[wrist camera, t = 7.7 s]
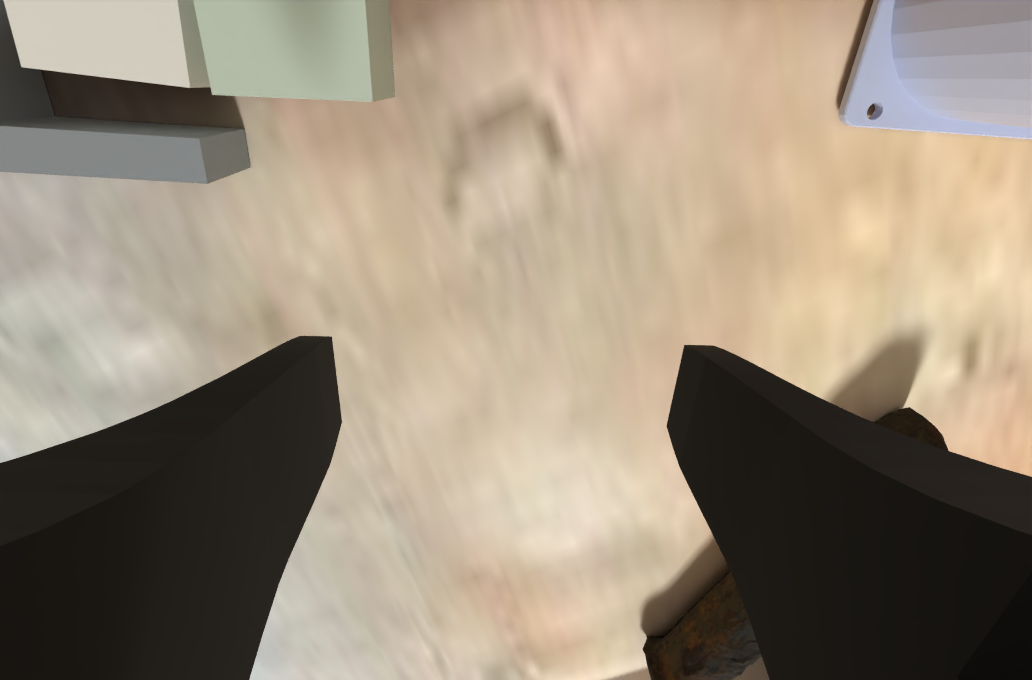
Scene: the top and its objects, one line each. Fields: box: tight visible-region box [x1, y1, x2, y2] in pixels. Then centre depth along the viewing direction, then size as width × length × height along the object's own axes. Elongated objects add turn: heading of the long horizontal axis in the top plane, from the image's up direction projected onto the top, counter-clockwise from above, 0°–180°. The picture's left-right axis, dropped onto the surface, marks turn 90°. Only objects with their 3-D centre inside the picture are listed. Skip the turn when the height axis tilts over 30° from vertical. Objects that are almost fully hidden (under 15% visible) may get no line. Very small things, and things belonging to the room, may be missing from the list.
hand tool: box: [643, 407, 948, 680], centre depth 25 cm, size 19×4×5 cm, turn 150°
